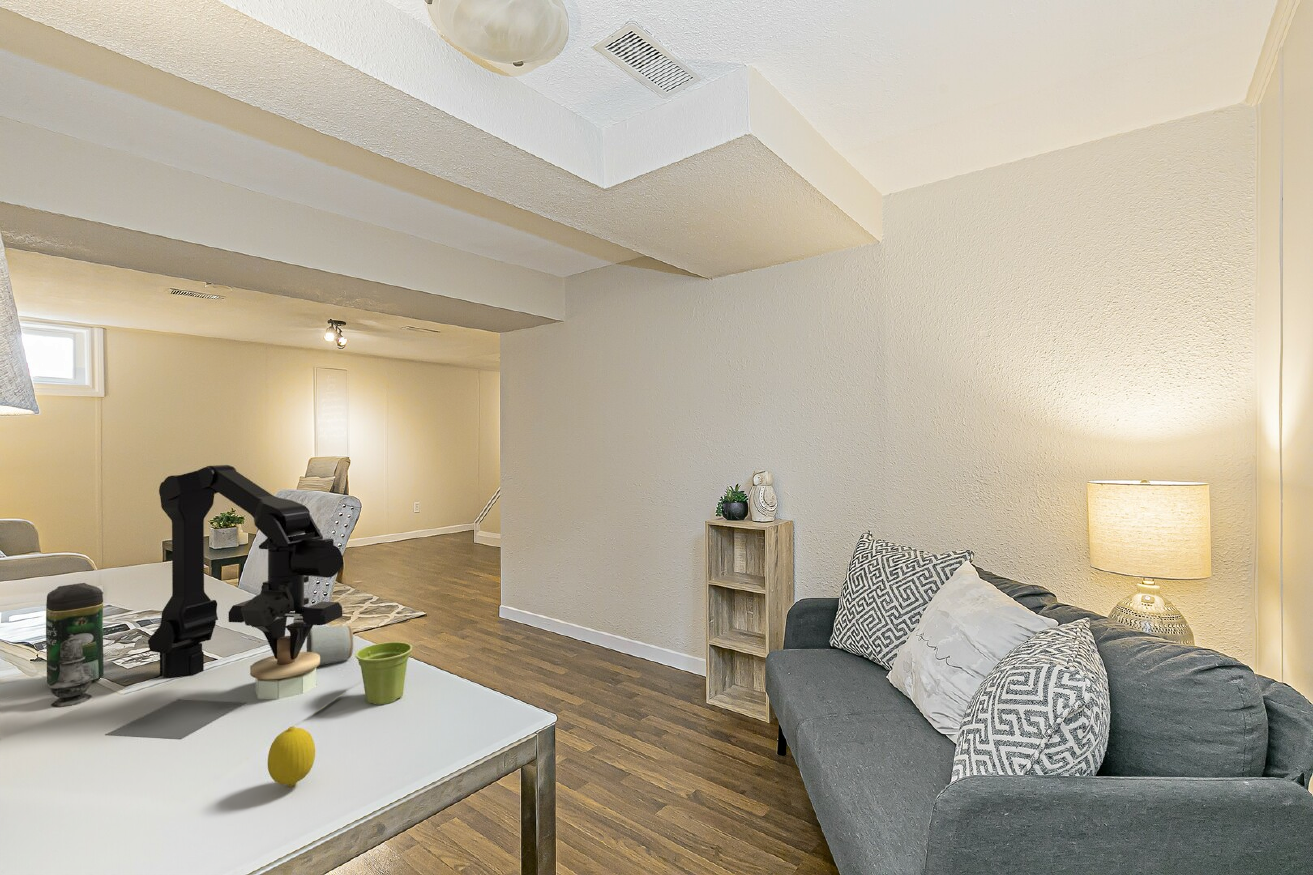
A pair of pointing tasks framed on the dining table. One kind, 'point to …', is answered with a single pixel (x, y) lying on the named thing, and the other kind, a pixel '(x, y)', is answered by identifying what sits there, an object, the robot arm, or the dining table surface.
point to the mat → (177, 719)
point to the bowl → (285, 686)
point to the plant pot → (384, 670)
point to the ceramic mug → (331, 643)
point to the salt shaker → (71, 676)
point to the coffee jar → (75, 627)
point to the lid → (284, 663)
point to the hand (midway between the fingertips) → (286, 658)
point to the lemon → (291, 756)
